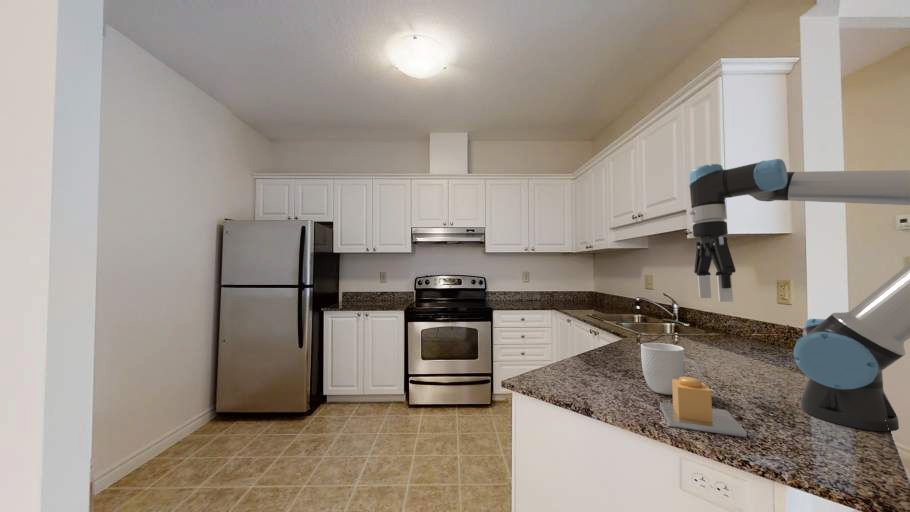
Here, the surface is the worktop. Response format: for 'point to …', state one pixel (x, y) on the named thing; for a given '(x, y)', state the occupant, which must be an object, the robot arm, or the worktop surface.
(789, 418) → the worktop surface
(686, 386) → the cube with dome top
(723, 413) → the plate with brass peg
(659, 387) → the mug
